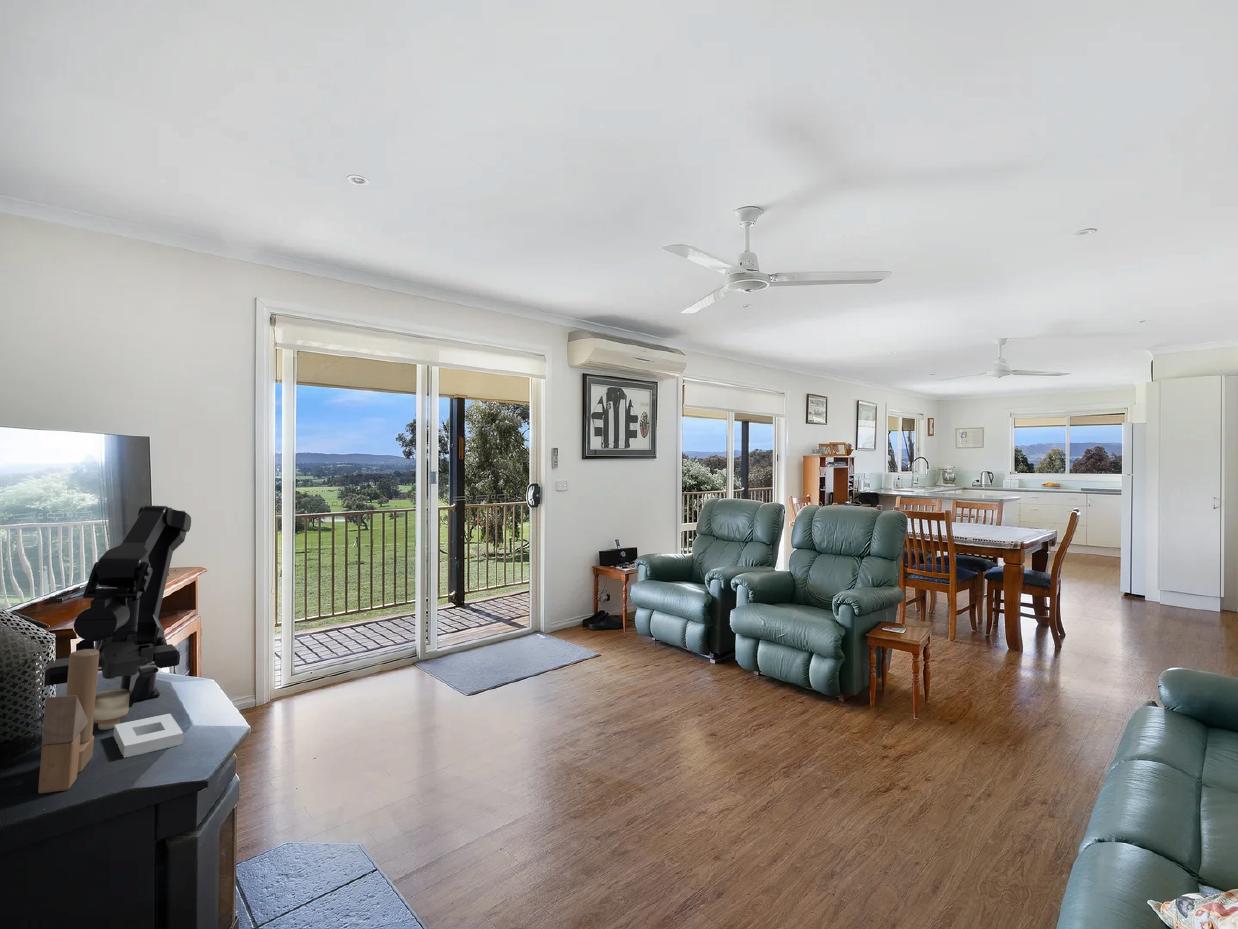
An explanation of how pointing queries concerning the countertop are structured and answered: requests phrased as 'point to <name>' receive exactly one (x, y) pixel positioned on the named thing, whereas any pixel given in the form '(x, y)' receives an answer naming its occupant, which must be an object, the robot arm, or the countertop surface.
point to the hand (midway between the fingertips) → (110, 710)
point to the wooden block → (69, 725)
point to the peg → (111, 707)
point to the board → (147, 735)
